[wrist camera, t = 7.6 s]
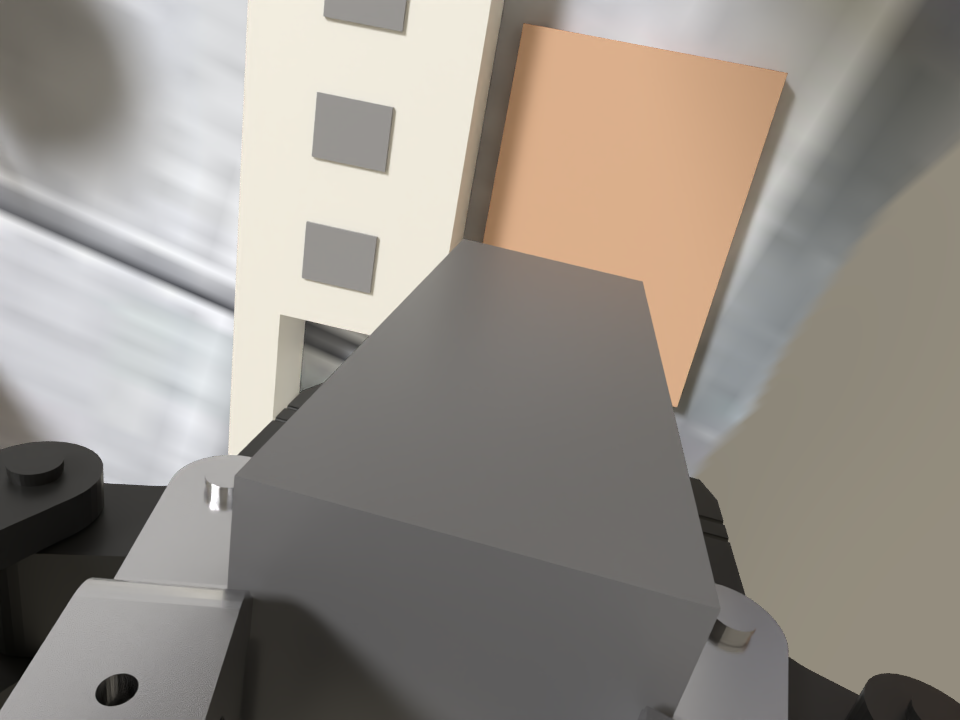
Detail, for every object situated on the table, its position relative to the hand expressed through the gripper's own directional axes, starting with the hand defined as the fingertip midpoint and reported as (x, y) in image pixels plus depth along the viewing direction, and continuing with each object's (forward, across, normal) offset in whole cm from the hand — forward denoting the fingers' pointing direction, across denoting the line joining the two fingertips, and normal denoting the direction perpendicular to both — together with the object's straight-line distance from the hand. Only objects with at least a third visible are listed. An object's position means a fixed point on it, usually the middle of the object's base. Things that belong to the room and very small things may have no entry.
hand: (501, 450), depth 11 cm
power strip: (+19, +9, +1) cm, 21 cm away
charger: (+4, 0, 0) cm, 4 cm away
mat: (+19, -2, -1) cm, 19 cm away
